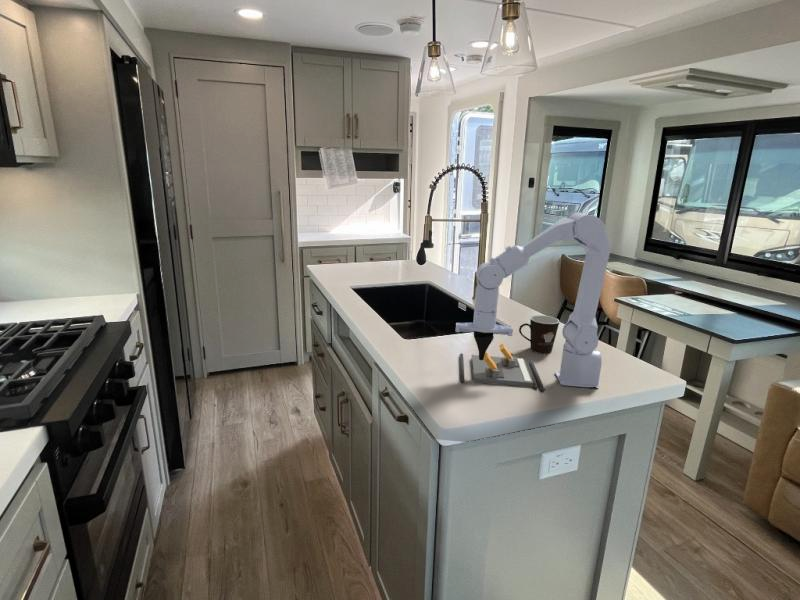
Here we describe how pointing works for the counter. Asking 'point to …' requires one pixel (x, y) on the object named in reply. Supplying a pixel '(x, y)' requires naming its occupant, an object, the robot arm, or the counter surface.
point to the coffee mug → (542, 333)
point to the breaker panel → (502, 371)
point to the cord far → (462, 368)
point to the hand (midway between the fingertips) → (481, 358)
